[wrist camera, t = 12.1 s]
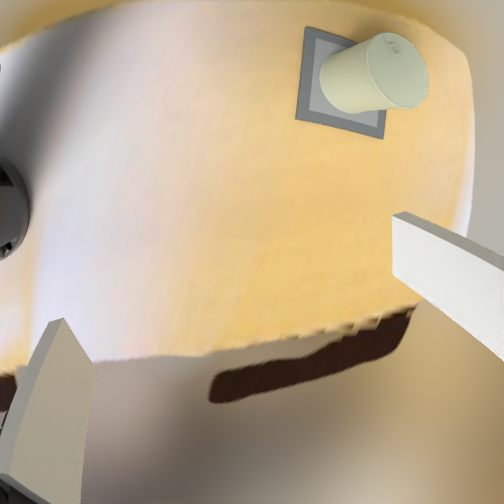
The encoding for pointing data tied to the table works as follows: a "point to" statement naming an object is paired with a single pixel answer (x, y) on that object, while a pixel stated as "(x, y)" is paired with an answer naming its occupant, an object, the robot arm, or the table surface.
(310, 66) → the coaster
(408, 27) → the table surface
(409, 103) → the can
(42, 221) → the table surface
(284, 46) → the table surface
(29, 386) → the robot arm
